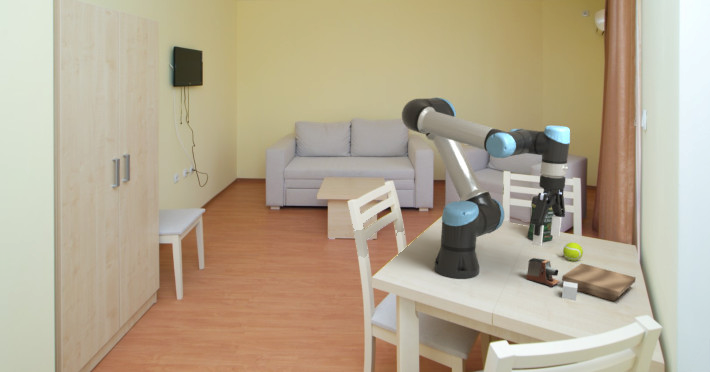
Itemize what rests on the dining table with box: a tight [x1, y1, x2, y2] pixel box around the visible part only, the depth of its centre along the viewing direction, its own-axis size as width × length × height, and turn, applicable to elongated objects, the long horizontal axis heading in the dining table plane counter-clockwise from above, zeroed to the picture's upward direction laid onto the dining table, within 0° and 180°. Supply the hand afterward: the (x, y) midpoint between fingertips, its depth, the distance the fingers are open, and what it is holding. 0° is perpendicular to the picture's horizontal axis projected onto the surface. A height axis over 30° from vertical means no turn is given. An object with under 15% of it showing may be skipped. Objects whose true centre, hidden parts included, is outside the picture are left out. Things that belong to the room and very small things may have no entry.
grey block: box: [561, 281, 578, 301], centre depth 160 cm, size 4×4×4 cm
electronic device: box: [526, 257, 560, 288], centre depth 170 cm, size 4×10×8 cm, turn 44°
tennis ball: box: [562, 242, 584, 262], centre depth 191 cm, size 7×7×7 cm
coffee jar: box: [527, 195, 555, 243], centre depth 213 cm, size 10×8×19 cm
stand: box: [561, 263, 637, 302], centre depth 167 cm, size 17×16×4 cm
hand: (546, 240), depth 168 cm, fingers open, 13 cm apart
